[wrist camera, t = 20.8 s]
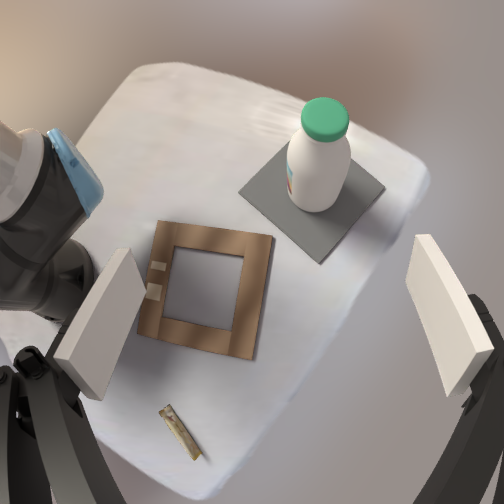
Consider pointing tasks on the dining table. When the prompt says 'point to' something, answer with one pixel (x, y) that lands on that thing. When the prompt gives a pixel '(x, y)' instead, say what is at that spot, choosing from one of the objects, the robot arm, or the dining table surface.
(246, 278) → the wooden frame
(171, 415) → the snack bar
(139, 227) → the dining table surface
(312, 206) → the milk bottle
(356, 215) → the rubber mat
